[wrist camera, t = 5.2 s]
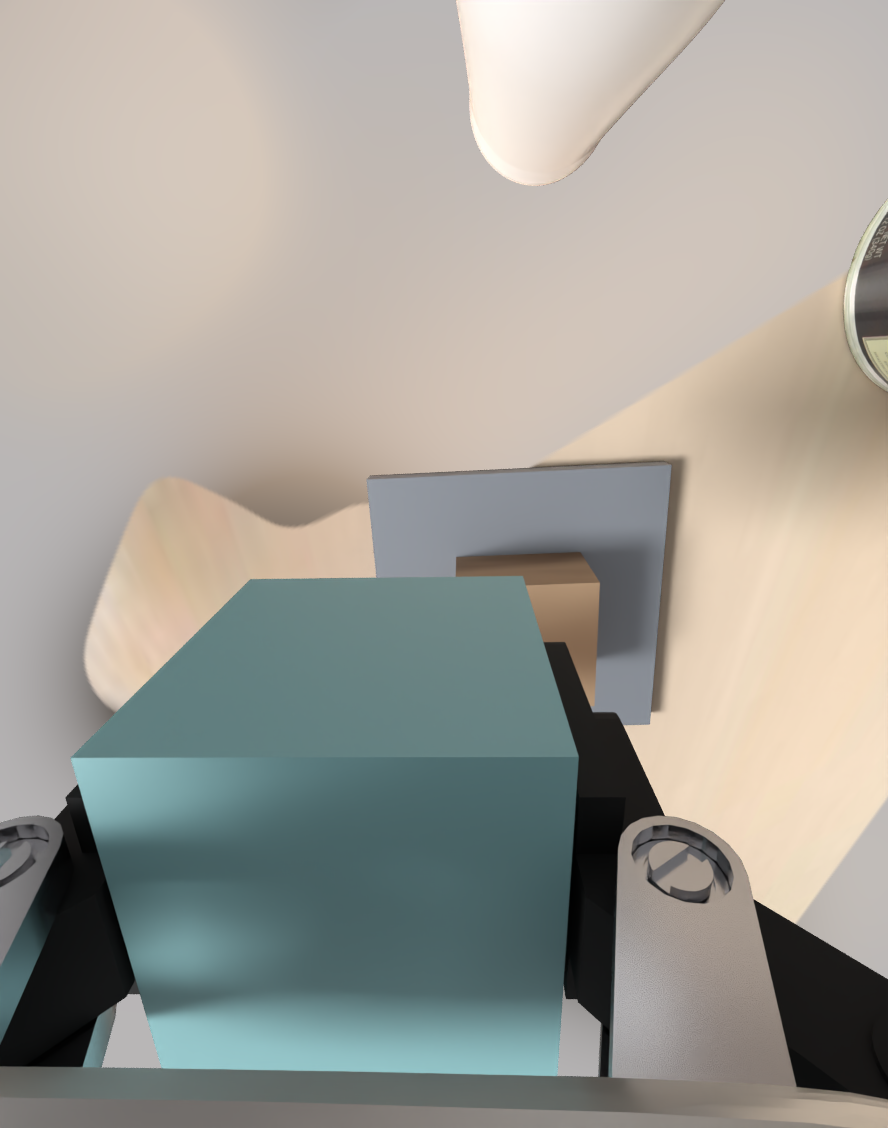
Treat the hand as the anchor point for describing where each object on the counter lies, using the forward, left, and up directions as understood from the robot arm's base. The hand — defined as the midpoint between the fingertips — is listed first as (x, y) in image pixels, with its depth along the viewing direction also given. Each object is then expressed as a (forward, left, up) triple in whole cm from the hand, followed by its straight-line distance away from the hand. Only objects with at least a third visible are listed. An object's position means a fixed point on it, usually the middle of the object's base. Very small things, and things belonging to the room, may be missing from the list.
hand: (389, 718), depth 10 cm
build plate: (+6, +4, -18) cm, 19 cm away
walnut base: (+6, +4, -17) cm, 18 cm away
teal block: (0, 0, -1) cm, 1 cm away
